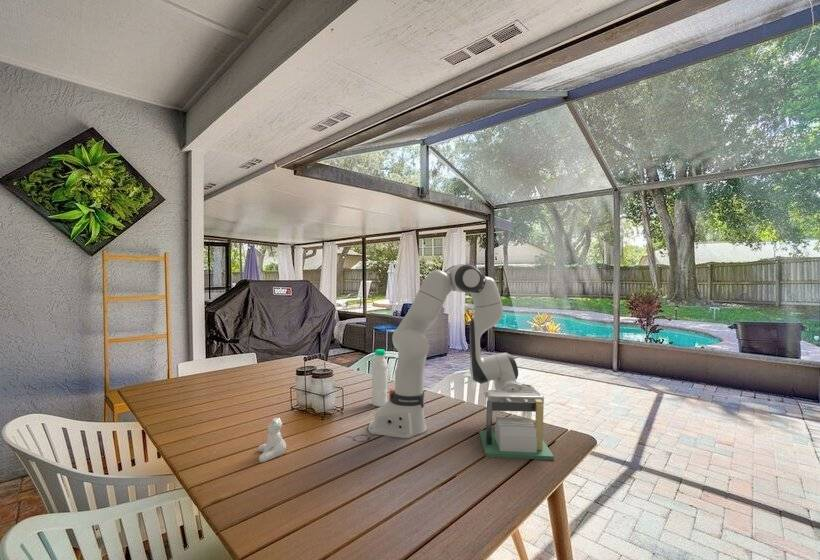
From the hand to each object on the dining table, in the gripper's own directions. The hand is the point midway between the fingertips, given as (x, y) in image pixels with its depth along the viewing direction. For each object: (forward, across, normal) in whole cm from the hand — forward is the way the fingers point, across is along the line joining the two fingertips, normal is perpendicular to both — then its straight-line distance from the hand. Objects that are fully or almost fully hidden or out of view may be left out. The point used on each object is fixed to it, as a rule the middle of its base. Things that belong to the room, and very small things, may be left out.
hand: (519, 406), depth 130 cm
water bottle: (-38, -54, +15) cm, 67 cm away
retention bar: (+1, -3, +13) cm, 13 cm away
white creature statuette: (+12, -83, +14) cm, 85 cm away
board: (-1, -2, +14) cm, 15 cm away
